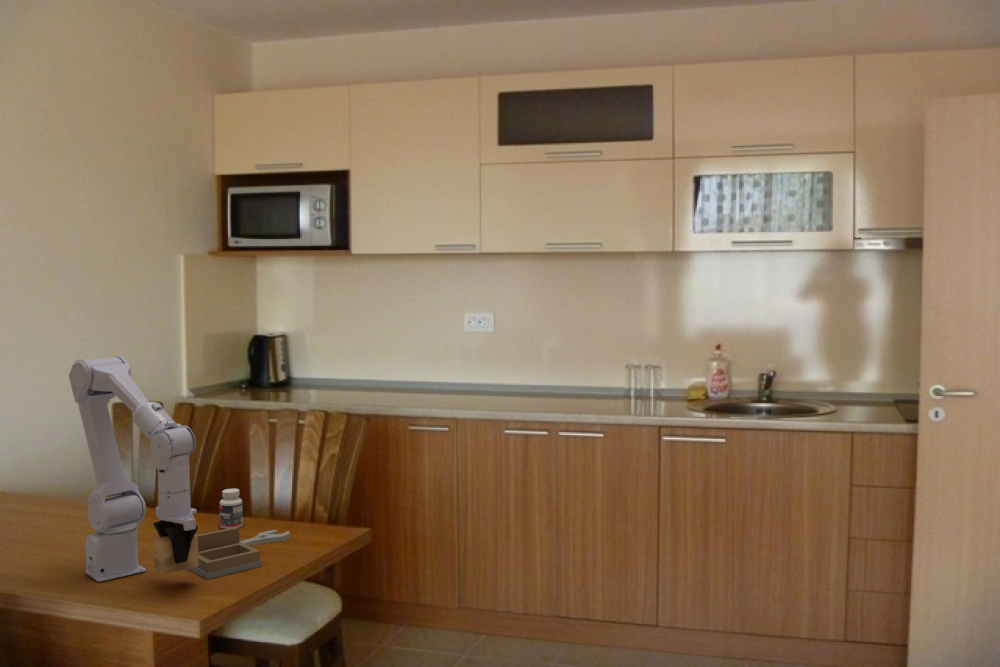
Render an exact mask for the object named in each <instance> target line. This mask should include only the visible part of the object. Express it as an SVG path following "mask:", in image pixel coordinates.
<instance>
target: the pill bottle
mask: <svg viewBox="0 0 1000 667" xmlns="http://www.w3.org/2000/svg"><path fill="white" fill-rule="evenodd" d="M221 492H222V493H221V495H222V496H221V497H222V499H221V500H220V501H219V527H220V528H221V529H222V530H224V529H229V528H233V527H238V528H239V529H240V528H241V527H242V526H243V524H244V519H243V518H244V517H243V513H244V512H243V500H242V498H240V493H241V492H240V489H239V488H227V489H223V490H222V491H221Z"/></svg>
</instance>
